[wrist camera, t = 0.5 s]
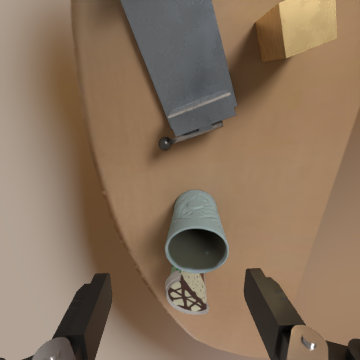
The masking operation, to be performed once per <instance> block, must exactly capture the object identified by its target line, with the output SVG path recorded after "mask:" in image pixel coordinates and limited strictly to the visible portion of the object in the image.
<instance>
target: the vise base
mask: <svg viewBox="0 0 360 360" xmlns="http://www.w3.org/2000/svg"><path fill="white" fill-rule="evenodd" d="M120 1H121V3H122V6H123V8H124V11H125V13H126V16H127V19H128V21H129V24H130V26H131V29H132V31H133V34H134V36H135V39H136V41H137V44H138V46H139V49H140V51H141V54H142V56H143V59H144V61H145V64H146V66H147V69H148V71H149V74H150V76H151V79H152V81H153V84H154V87H155V89H156V92H157V94H158V97H159V99H160V102H161V104H162V107H163V109H164V112H165V114H166V117H167V119H168V122H169V124H170V127H171V129H172V130H173V131H174V134H175V136H176V137H173V138H168V137H162V138H160V139H159V141H158V146H159V148H160V149H161V150H163V151H167V150H169V149H170V148H171V146H172V145H173V144H175V143H178V142H181V141H184V140H187V139H190V138H192V137H195V136H198V135H201V134H204V133H207V132H209V131H212V130H215V129H218V128H221V127H223V123H222V120H224V119H227V118H229V117H232V116H235V115H236V114H235V110H234V107H235V106H237V102H236V98H235V94H234V90H233V86H232V82H231V78H230V74H229V70H228V66H227V62H226V58H225V54H224V50H223V46H222V41H221V37H220V33H219V29H218V25H217V21H216V17H215V13H214V9H213V5H212V1H211V0H120Z"/></svg>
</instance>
